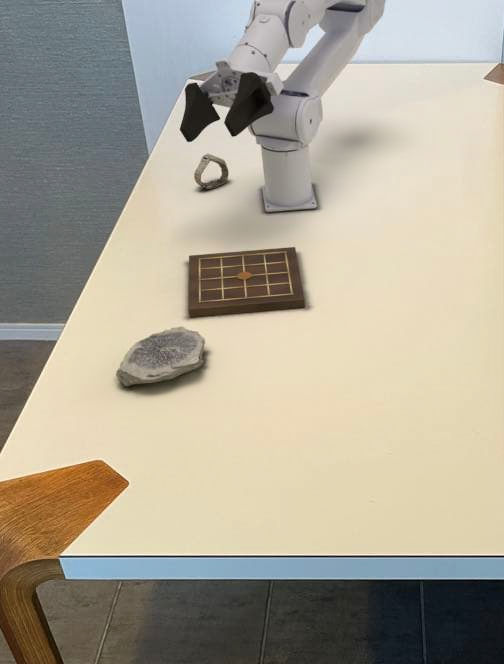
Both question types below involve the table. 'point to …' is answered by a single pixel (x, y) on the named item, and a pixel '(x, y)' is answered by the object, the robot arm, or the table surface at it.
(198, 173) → the wristwatch
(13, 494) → the table surface
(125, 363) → the fossil
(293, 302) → the board
